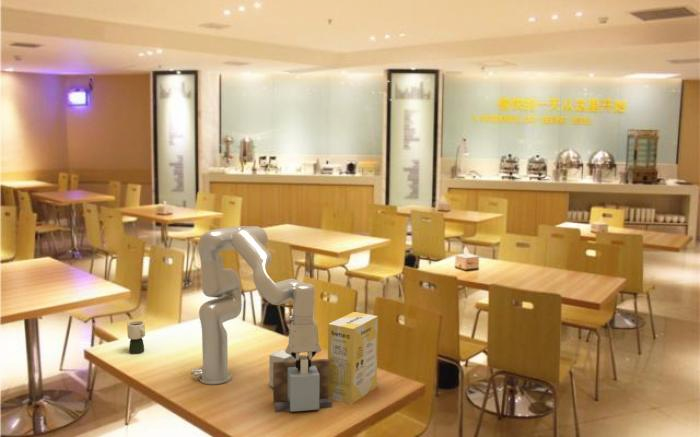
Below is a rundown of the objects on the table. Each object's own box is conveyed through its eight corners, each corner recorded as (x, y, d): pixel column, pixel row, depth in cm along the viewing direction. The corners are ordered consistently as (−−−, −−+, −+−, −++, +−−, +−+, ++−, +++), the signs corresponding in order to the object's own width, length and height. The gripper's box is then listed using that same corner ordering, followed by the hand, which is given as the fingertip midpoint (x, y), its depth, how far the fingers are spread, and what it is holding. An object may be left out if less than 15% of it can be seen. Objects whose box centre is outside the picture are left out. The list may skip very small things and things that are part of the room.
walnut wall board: (275, 411, 223) (275, 370, 221) (273, 402, 230) (273, 362, 228) (332, 407, 227) (332, 366, 225) (327, 397, 235) (328, 358, 233)
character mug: (151, 352, 279) (151, 323, 277) (138, 356, 273) (137, 327, 271) (135, 347, 284) (134, 318, 282) (121, 351, 278) (120, 322, 276)
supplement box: (284, 390, 241) (284, 358, 239) (268, 386, 244) (268, 354, 243) (296, 384, 247) (296, 352, 245) (280, 379, 251) (280, 348, 249)
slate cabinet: (290, 411, 221) (290, 363, 219) (287, 400, 230) (287, 353, 227) (319, 409, 223) (319, 361, 221) (314, 398, 232) (315, 352, 229)
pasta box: (352, 381, 251) (354, 311, 247) (376, 386, 245) (378, 316, 241) (327, 397, 235) (328, 323, 231) (351, 404, 230) (353, 328, 226)
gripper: (281, 323, 217) (281, 375, 219) (328, 321, 220) (327, 372, 223) (279, 316, 224) (279, 367, 227) (324, 314, 227) (324, 364, 230)
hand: (303, 369), depth 225 cm, fingers closed on slate cabinet, 2 cm apart
